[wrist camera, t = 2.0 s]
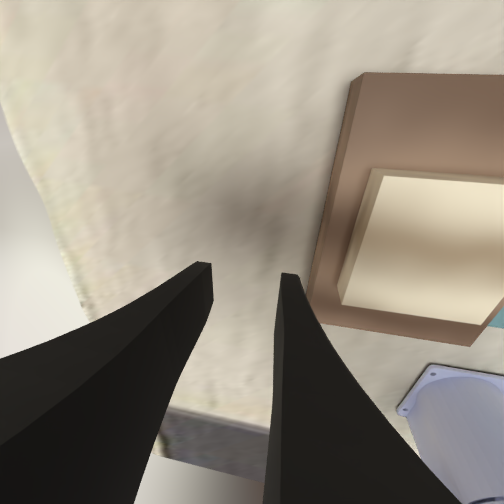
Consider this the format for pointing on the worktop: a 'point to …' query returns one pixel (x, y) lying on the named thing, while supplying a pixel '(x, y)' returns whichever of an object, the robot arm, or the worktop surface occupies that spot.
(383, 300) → the cream square slab
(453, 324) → the walnut board
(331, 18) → the worktop surface
